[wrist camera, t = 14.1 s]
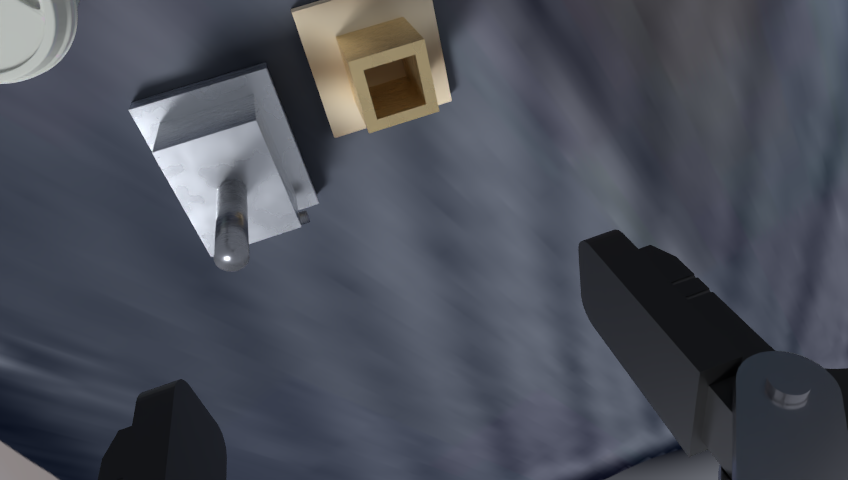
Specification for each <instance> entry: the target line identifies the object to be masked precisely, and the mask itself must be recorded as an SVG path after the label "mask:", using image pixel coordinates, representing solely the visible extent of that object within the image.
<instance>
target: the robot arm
mask: <svg viewBox="0 0 848 480" xmlns="http://www.w3.org/2000/svg"><path fill="white" fill-rule="evenodd" d="M579 267H580V284H581V298H582V302H583V306H584V309H585V311H586V314H587V316H588V318H589V320H590V322H591V324H592V325H593V326H594V328H595V329H596V331H597V332H598V333H599V335H600V336H601V337H602V339H603V340H604V342H605V343H606V344H607V346H608V347H609V348H610V350H611V351H612V352H613V354H614V355H615V357H616V358H617V359H618V361H619V362H620V363H621V365H622V366H623V367H624V369H625V370H626V372H627V373H628V374H629V376H630V377H631V378H632V380H633V381H634V382H635V384H636V385H637V387H638V388H639V389H640V391H641V392H642V393H643V395H644V396H645V398H646V399H647V400H648V402H649V403H650V404H651V406H652V407H653V408H654V410H655V411H656V413H657V414H658V415H659V417H660V418H661V419H662V421H663V422H664V423H665V425H666V426H667V428H668V429H669V430H670V432H671V433H672V434H673V436H674V437H675V439H676V440H677V441H678V443H679V444H680V445H681V447H682V448H683V449H684V451H685V452H686V453H687V455H688V456H689V457H690V456H693V455H696V454H698V453H701V452H703V451H706V450H708V449H709V450H710V452H711V453H712V454H713V456H714V457H715V458H716V460H717V461H718V462H719V464H720V465H719V477H718V480H848V368H847V369H825V368H823V367H822V366H821V365H819V364H818V363H816V362H814V361H812V360H810V359H808V358H806V357H803V356H801V355H797V354H794V353H789V352H783V351H775V350H774V349H773V348H772V347H770V346H769V345H768V344H767V343H766V342H765V341H764V340H763V339H762V338H761V337H760V336H759V335H758V334H757V333H755V332H754V331H753V330H752V329H751V328H750V327H749V326H748V325H747V324H746V323H745V322H744V321H743V320H742V319H741V318H740V317H739V316H738V315H737V314H736V313H734V312H733V311H732V310H731V309H730V308H729V307H728V306H727V305H726V304H725V303H724V302H723V301H722V300H721V299H720V298H719V297H718V296H717V295H716V294H715V293H714V292H710V290H709V288H708V287H707V286H706V285H705V284H704V283H703V282H702V281H701V280H700V279H699V278H695V276H694V273H693V272H691V271H690V270H689V269H688V268H687V267H686V266H685V265H684V264H683V263H682V262H681V261H680V260H679V259H678V258H677V257H676V256H673V255H671V254H669V253H667V252H665V251H663V250H660V249H658V248H656V247H654V246H652V245H649V246H646V247H643V248H640V249H638V248H637V247H636V246H635V245H634V244H633V243H632V242H631V241H630V240H629V239H628V238H627V237H626V236H625V235H624V234H623V233H622V232H621V231H619V230H612V231H609V232H607V233H604V234H601V235H598V236H595V237H592V238H589V239H586V240H584V241H581V242H580V243H579ZM226 465H227V455H226V446H225V442H224V438H223V435H222V432H221V430H220V428H219V426H218V424H217V423H216V421H215V420H214V419H213V417H212V416H211V415H210V413H209V412H208V410H207V409H206V408H205V406H204V405H203V404H202V402H201V401H200V399H199V398H198V397H197V395H196V394H195V393H194V391H193V390H192V388H191V387H190V386H189V384H188V383H187V382H186V381H184V380H182V379H180V380H177V381H174V382H171V383H168V384H165V385H162V386H159V387H157V388H154V389H151V390H148V391H145V392H142V393H141V394H139V396H138V398H137V401H136V406H135V412H134V418H133V423H132V426H130V427H128V428H125V429H122V430H119V431H118V433H117V434H116V436H115V438H114V440H113V441H112V443H111V445H110V446H109V448H108V450H107V452H106V453H105V455H104V457H103V458H102V462H101V467H100V472H99V477H98V480H226Z"/></svg>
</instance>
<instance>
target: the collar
mask: <svg viewBox="0 0 848 480" xmlns="http://www.w3.org/2000/svg"><path fill="white" fill-rule="evenodd" d="M336 40H337V44H338V47H339V50H340V54H341V57H342V60H343V64H344V67H345V70H346V74H347V77H348V80H349V84H350V87H351V90H352V94H353V97H354V101H355V103H356V105H357V108H358V110H359V112H360V114H361V117H362V119H363V121H364V123H365V125H366V128H367V130H368V132H369V133H372V132H375V131H378V130H381V129H385V128H388V127H391V126H394V125H397V124H400V123H404V122H407V121H410V120H413V119H416V118H419V117H423V116H426V115H429V114H432V113H435V112H439V107H438V103H437V98H436V93H435V88H434V83H433V78H432V73H431V69H430V64H429V59H428V54H427V49H426V44H425V39H424V38H423V37H422V36H421V35H420V34H419V33H418V32H417V31H416V30H415V28H414V27H413V26H412V25H411V24H410V23H409V22H408V21H407V20H406V19H405V18H404V17H400V18H396V19H393V20H390V21H386V22H383V23H379V24H376V25H373V26H369V27H366V28H363V29H359V30H356V31H353V32H349V33H346V34H343V35H339V36H336ZM399 59H402V60H403V65H404V69H405V73H406V76H405V77H401V78H398V79H395V80H392V81H388V82H385V83H382V84H379V85H375V86H372V87H369V88H368V85H367V82H366V78H365V74H364V71H363V70H366V69H369V68H372V67H376V66H379V65H382V64H386V63H389V62H392V61H395V60H399Z"/></svg>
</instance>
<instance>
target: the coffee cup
mask: <svg viewBox="0 0 848 480" xmlns="http://www.w3.org/2000/svg"><path fill="white" fill-rule="evenodd" d="M79 1H80V0H0V84H6V83H15V82H20V81H24V80H27V79H30V78H33V77H35V76H38V75H40V74H42V73H44V72H46V71H48V70H49V69H51V68H52V67H54V66H55V65H56V64H57V63H58V62H59V61H60V60H61V59H62V58H63V57H64V56H65V54H66V53H67V52H68V50H69V48H70V46H71V44H72V42H73V40H74V37H75V33H76V28H77V7H78V4H79Z"/></svg>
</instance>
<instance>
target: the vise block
mask: <svg viewBox="0 0 848 480" xmlns="http://www.w3.org/2000/svg"><path fill="white" fill-rule="evenodd" d="M129 112H130V113H131V115H132V117H133V119H134V121H135V122H136V124H137V126H138V128H139V129H140V131H141V133H142V135H143V136H144V138H145V140H146V142H147V143H148V145H149V147H150V149H151V151H152V154H153V155H154V157H155V159H156V161H157V162H158V164H159V166H160V168H161V169H162V171H163V173H164V175H165V176H166V178H167V180H168V182H169V184H170V185H171V187H172V189H173V191H174V192H175V194H176V196H177V198H178V199H179V201H180V203H181V205H182V206H183V208H184V210H185V212H186V213H187V215H188V217H189V219H190V221H191V222H192V224H193V226H194V228H195V229H196V231H197V233H198V235H199V236H200V238H201V240H202V242H203V243H204V245H205V247H206V249H207V251H208V252H209V254H210V256H211V257H212V256H214V261H215V264H216V265H217V266H218V267H219V268H220V269H222V270H225V271H230V272H233V271H238V270H241V269H243V268H244V267H245V266H246V265H247V264H248V262H249V244H251V243H254V242H257V241H260V240H263V239H266V238H269V237H272V236H275V235H278V234H281V233H284V232H287V231H290V230H293V229H297V228H300V227H301V225H302V224H305V223H308V222H310V220H309V216H308V214H307V211H306V210H305V211H302V212H299V210H301V209H304V208H307V207H310V206H313V205H316V204H319V201H318V197H317V194H316V191H315V188H314V186H313V183H312V181H311V178H310V176H309V173H308V170H307V168H306V165H305V163H304V160H303V157H302V155H301V152H300V150H299V147H298V145H297V142H296V139H295V137H294V134H293V132H292V129H291V127H290V124H289V121H288V119H287V116H286V114H285V111H284V109H283V106H282V103H281V101H280V98H279V96H278V93H277V90H276V88H275V85H274V83H273V80H272V78H271V75H270V72H269V70H268V67H267V65H266V62H263V63H260V64H257V65H253V66H250V67H247V68H243V69H240V70H237V71H234V72H230V73H227V74H224V75H220V76H217V77H214V78H210V79H207V80H204V81H201V82H197V83H194V84H191V85H187V86H184V87H181V88H177V89H174V90H171V91H168V92H164V93H161V94H158V95H154V96H151V97H148V98H144V99H141V100H138V101H135V102H132V103H131V105H130V108H129Z"/></svg>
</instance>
